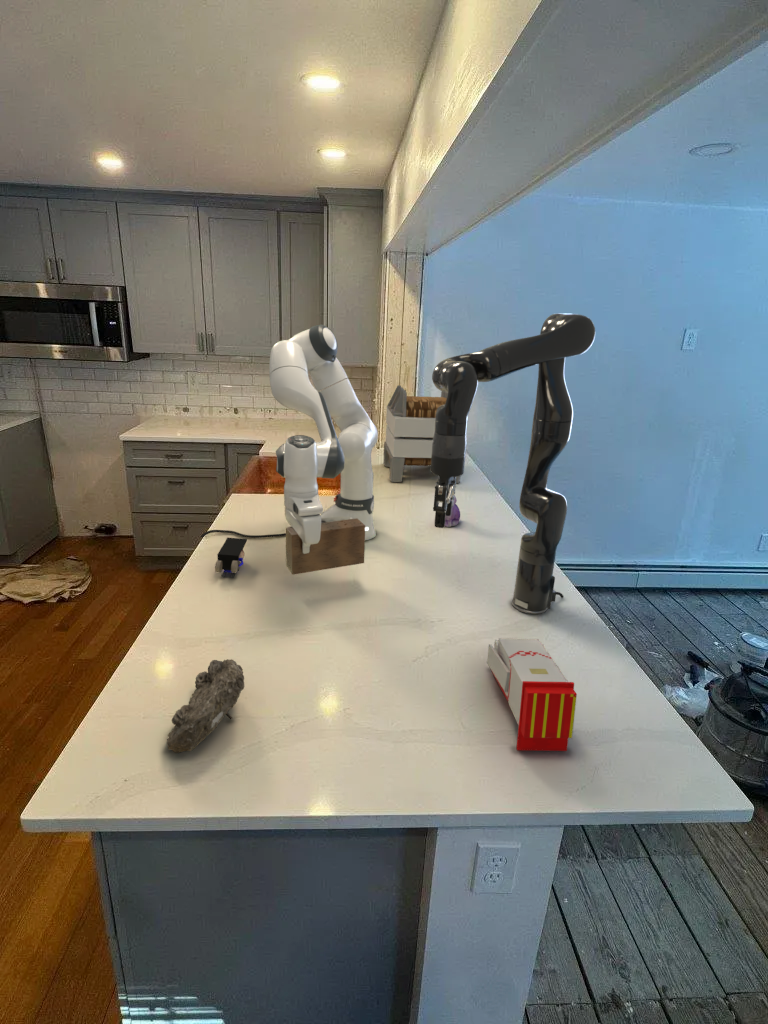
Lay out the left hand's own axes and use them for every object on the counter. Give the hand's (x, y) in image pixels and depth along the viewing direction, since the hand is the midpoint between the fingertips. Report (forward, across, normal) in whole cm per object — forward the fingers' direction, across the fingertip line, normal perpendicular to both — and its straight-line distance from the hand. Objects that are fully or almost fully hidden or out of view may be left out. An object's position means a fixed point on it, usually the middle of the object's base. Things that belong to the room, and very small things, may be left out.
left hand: (301, 547), depth 153 cm
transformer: (+13, -96, +89) cm, 131 cm away
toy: (+13, +62, +28) cm, 69 cm away
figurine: (+13, -32, +67) cm, 75 cm away
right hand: (-16, +31, +24) cm, 43 cm away
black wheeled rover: (+13, -20, -15) cm, 28 cm away
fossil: (+13, +43, -31) cm, 55 cm away
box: (+6, 0, +7) cm, 9 cm away
